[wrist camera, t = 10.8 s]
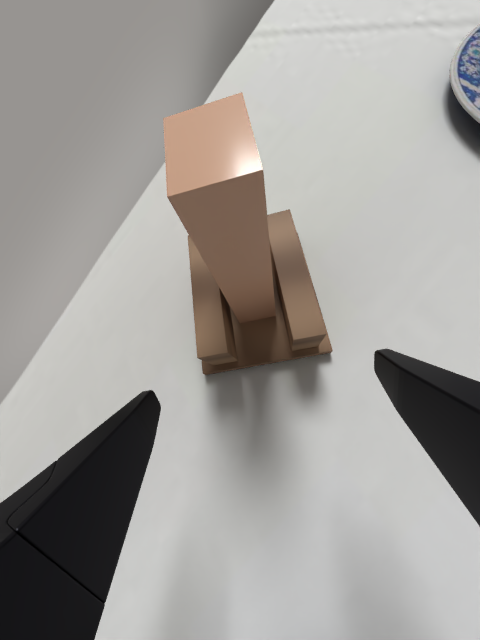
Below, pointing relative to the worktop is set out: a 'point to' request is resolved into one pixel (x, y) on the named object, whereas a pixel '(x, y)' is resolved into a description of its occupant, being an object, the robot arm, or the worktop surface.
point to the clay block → (223, 200)
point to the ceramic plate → (467, 73)
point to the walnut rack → (264, 334)
